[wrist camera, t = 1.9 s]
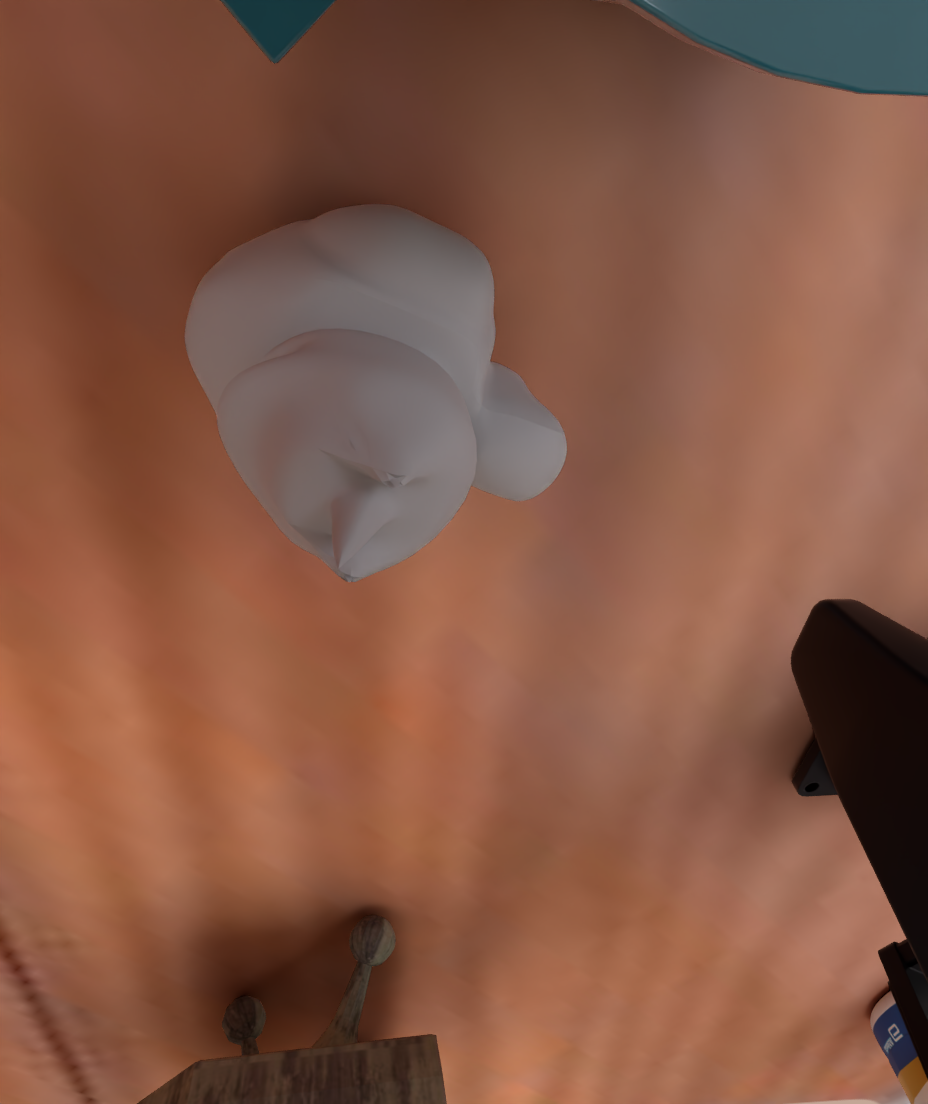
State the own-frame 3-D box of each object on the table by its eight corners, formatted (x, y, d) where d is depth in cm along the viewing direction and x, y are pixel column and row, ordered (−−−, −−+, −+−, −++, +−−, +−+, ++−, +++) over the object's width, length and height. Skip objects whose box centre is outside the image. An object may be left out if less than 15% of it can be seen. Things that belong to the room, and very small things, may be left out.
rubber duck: (251, 110, 13) (179, 245, 6) (585, 271, 15) (778, 486, 9) (170, 393, 15) (63, 689, 9) (466, 492, 18) (547, 781, 11)
